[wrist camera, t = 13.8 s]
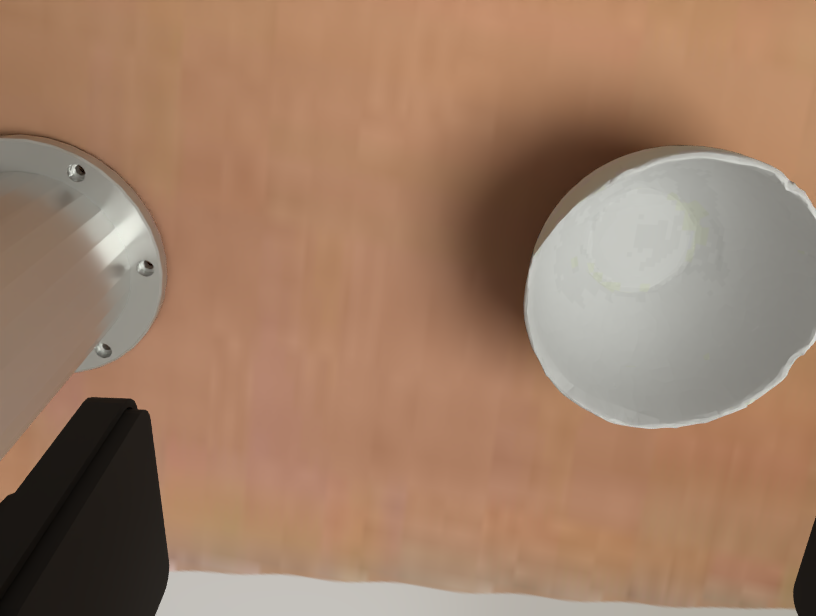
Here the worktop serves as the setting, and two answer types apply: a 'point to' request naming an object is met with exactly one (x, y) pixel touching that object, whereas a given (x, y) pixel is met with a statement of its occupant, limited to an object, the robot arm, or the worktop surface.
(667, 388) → the teacup
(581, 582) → the worktop surface
